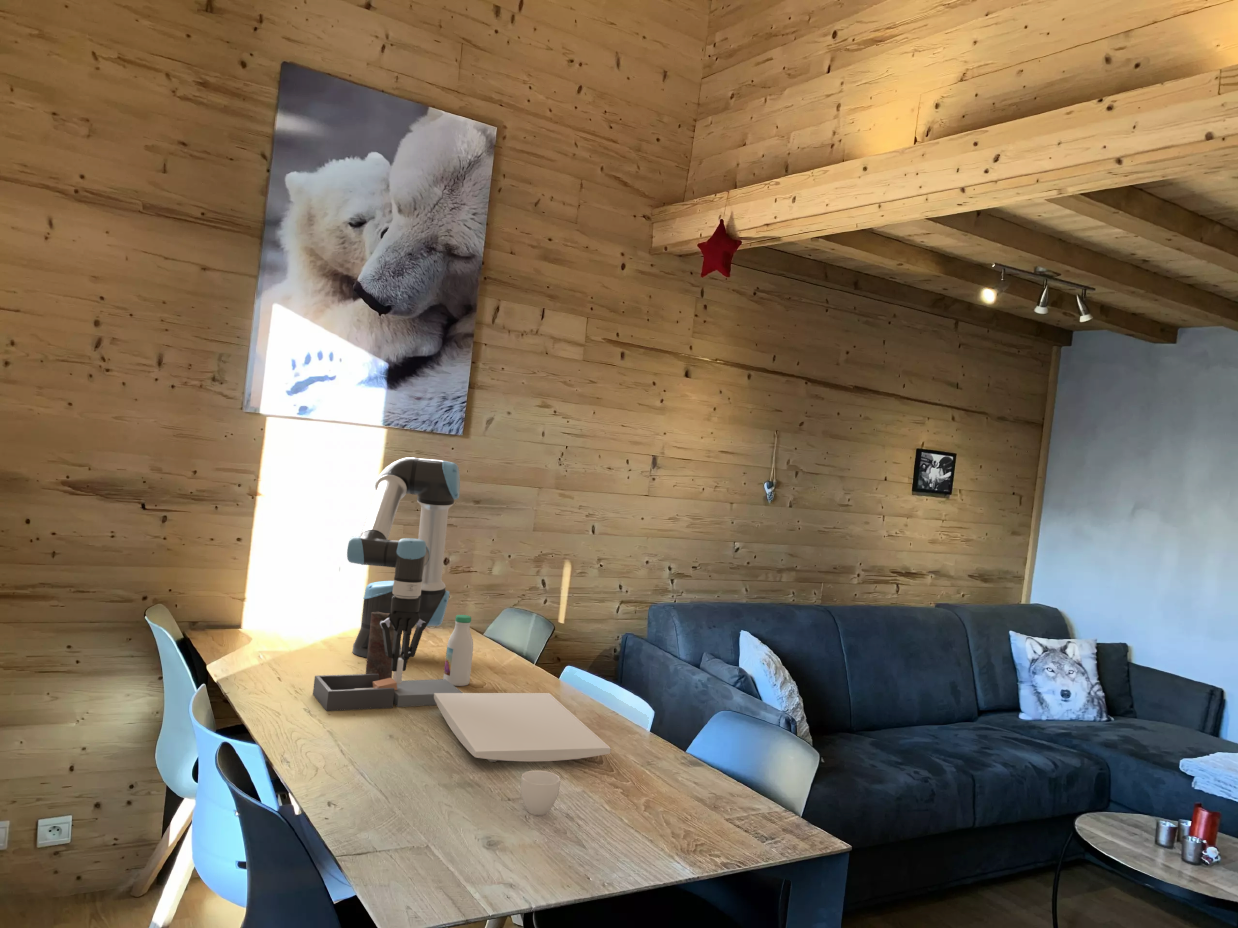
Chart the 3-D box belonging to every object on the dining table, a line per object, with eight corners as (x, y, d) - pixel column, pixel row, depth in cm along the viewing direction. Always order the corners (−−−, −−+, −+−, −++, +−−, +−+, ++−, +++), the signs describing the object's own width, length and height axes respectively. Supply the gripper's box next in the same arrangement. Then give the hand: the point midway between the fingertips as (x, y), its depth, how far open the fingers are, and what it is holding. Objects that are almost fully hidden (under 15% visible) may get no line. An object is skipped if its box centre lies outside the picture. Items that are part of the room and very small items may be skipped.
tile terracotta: (373, 688, 242) (372, 681, 242) (391, 684, 245) (390, 677, 245) (378, 693, 238) (378, 686, 238) (397, 689, 241) (396, 682, 241)
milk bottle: (472, 681, 269) (479, 615, 269) (465, 688, 262) (472, 619, 262) (447, 678, 270) (454, 612, 270) (439, 684, 262) (447, 616, 262)
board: (432, 710, 238) (434, 692, 238) (547, 709, 250) (549, 692, 250) (473, 772, 196) (475, 751, 196) (608, 767, 209) (610, 747, 209)
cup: (530, 821, 173) (534, 786, 173) (505, 801, 182) (508, 768, 181) (564, 815, 178) (567, 781, 178) (538, 796, 186) (541, 764, 186)
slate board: (382, 691, 248) (383, 681, 248) (444, 689, 258) (445, 678, 258) (397, 706, 236) (398, 695, 236) (461, 703, 246) (463, 692, 246)
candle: (358, 680, 257) (366, 611, 257) (374, 676, 264) (382, 608, 263) (380, 686, 254) (388, 615, 254) (396, 681, 261) (404, 612, 261)
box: (312, 694, 239) (314, 675, 239) (376, 691, 248) (378, 673, 248) (326, 710, 226) (328, 691, 226) (392, 707, 235) (394, 688, 235)
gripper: (387, 598, 236) (377, 687, 236) (434, 598, 243) (424, 685, 243) (378, 593, 243) (369, 679, 243) (424, 593, 250) (415, 678, 250)
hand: (396, 682), depth 243 cm, fingers closed
